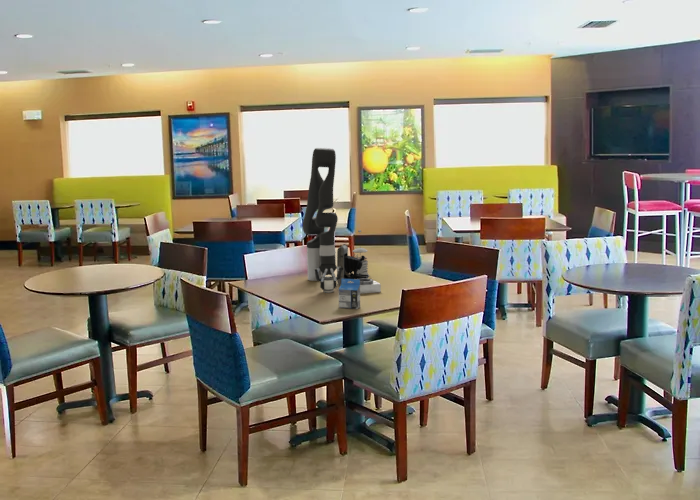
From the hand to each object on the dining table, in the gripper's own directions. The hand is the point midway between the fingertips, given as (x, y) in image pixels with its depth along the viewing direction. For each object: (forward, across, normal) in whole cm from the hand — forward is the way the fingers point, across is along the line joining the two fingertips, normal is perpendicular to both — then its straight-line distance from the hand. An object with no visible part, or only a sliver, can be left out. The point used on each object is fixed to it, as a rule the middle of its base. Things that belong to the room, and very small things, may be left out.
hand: (328, 288), depth 342 cm
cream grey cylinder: (+2, 0, 0) cm, 2 cm away
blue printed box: (+2, 0, +37) cm, 37 cm away
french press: (+2, -26, -34) cm, 43 cm away
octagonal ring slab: (+2, -16, +6) cm, 17 cm away
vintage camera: (+2, -17, -15) cm, 23 cm away
